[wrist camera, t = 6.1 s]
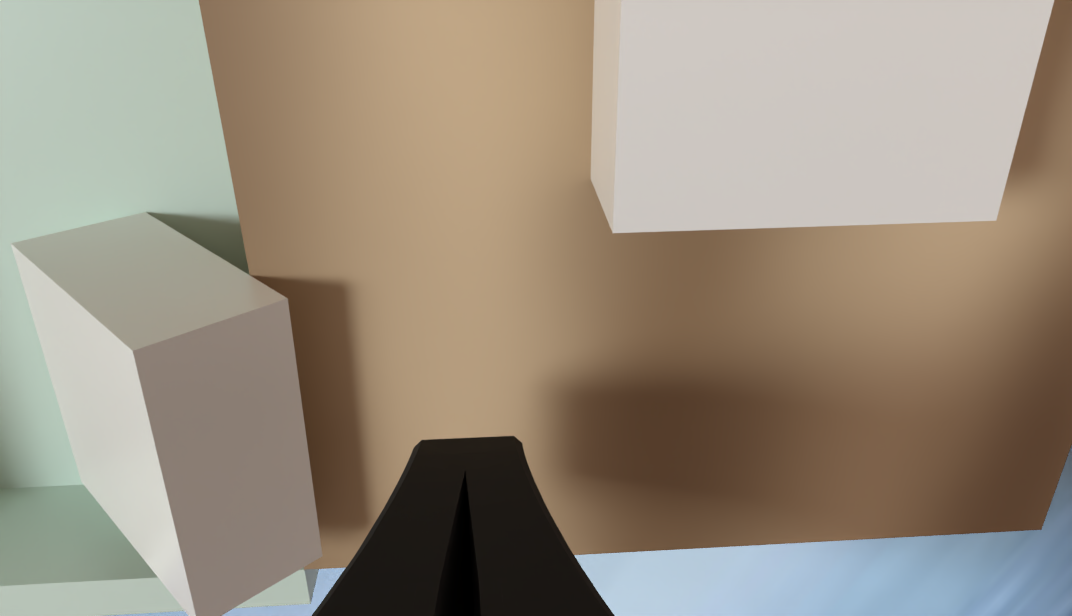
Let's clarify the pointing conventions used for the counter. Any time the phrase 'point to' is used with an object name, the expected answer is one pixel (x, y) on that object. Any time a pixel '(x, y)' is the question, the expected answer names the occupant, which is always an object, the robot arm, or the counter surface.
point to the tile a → (178, 404)
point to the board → (628, 297)
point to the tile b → (808, 110)
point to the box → (79, 200)
